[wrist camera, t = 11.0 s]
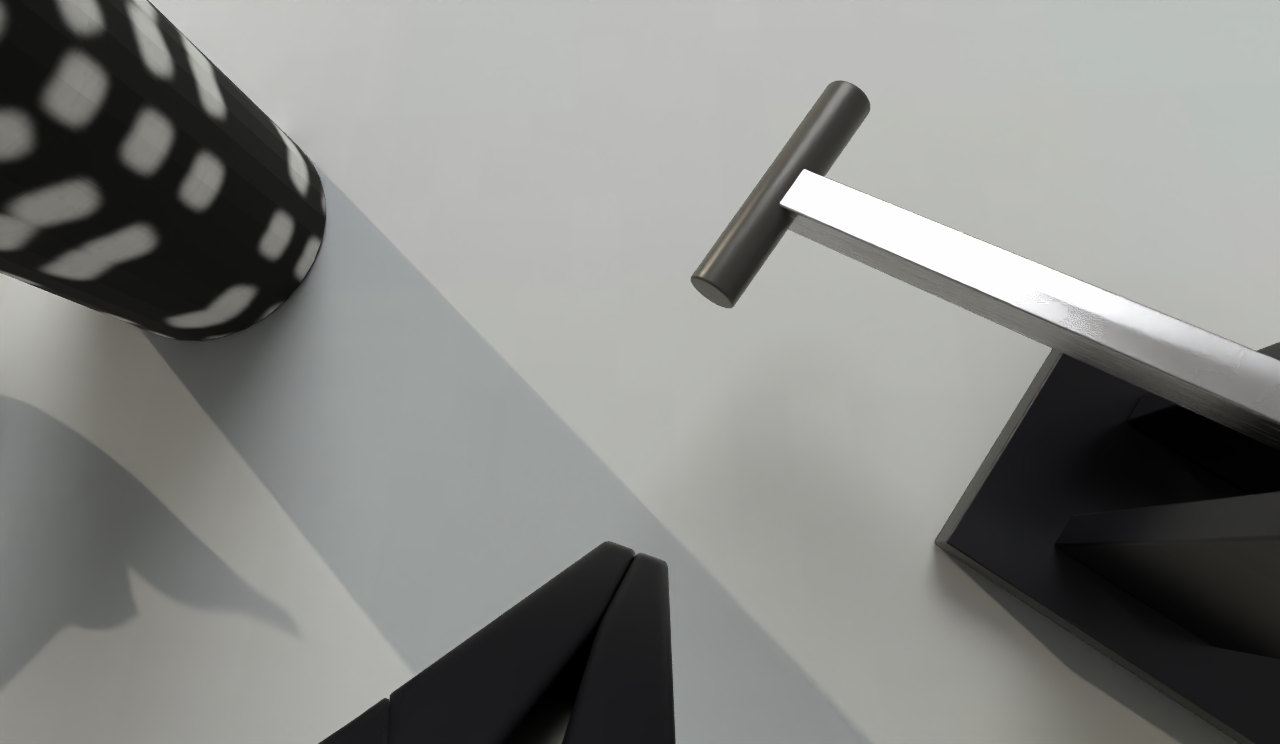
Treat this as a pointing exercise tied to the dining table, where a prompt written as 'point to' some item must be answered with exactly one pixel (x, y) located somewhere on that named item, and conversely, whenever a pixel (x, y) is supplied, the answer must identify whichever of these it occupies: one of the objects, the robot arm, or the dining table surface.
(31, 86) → the white-spotted black cylinder
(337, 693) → the dining table surface
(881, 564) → the dining table surface
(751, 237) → the lever
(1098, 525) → the bracket
